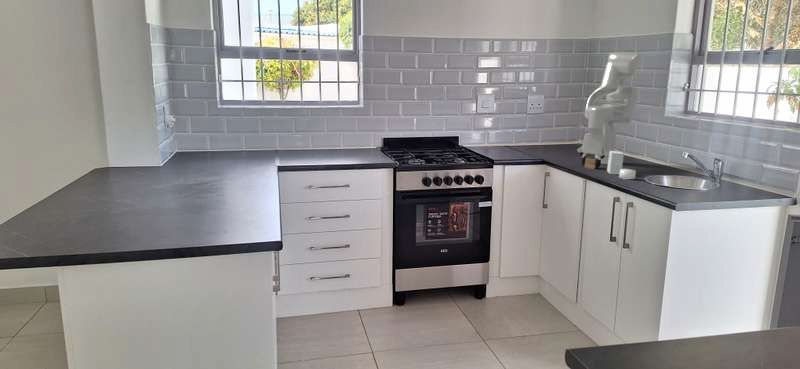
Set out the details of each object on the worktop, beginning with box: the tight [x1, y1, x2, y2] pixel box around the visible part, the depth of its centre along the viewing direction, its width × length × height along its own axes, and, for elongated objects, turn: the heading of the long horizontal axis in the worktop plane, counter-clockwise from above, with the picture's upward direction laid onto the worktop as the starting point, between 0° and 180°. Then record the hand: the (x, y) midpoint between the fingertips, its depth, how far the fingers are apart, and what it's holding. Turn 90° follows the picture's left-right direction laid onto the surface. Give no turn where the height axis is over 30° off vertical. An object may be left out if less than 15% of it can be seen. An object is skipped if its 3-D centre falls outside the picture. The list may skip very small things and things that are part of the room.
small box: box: [606, 150, 625, 176], centre depth 277 cm, size 8×6×10 cm
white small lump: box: [618, 168, 637, 180], centre depth 266 cm, size 7×7×4 cm
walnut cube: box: [584, 156, 598, 170], centre depth 289 cm, size 5×5×5 cm
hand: (590, 165), depth 290 cm, fingers open, 6 cm apart
